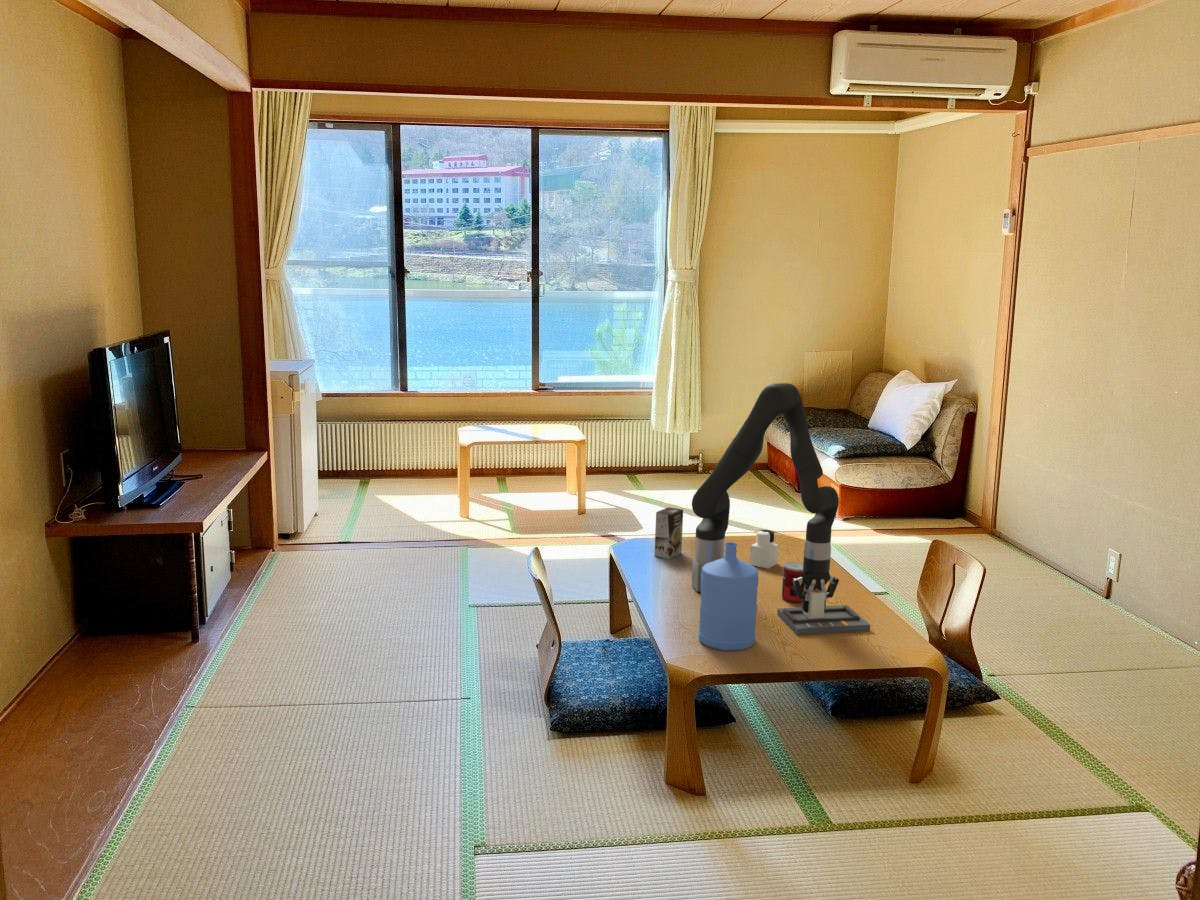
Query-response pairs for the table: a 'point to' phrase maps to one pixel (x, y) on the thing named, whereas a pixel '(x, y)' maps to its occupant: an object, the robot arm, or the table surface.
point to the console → (824, 621)
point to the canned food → (789, 573)
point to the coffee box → (668, 532)
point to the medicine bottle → (764, 550)
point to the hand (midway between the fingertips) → (813, 611)
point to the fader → (816, 604)
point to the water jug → (728, 602)
